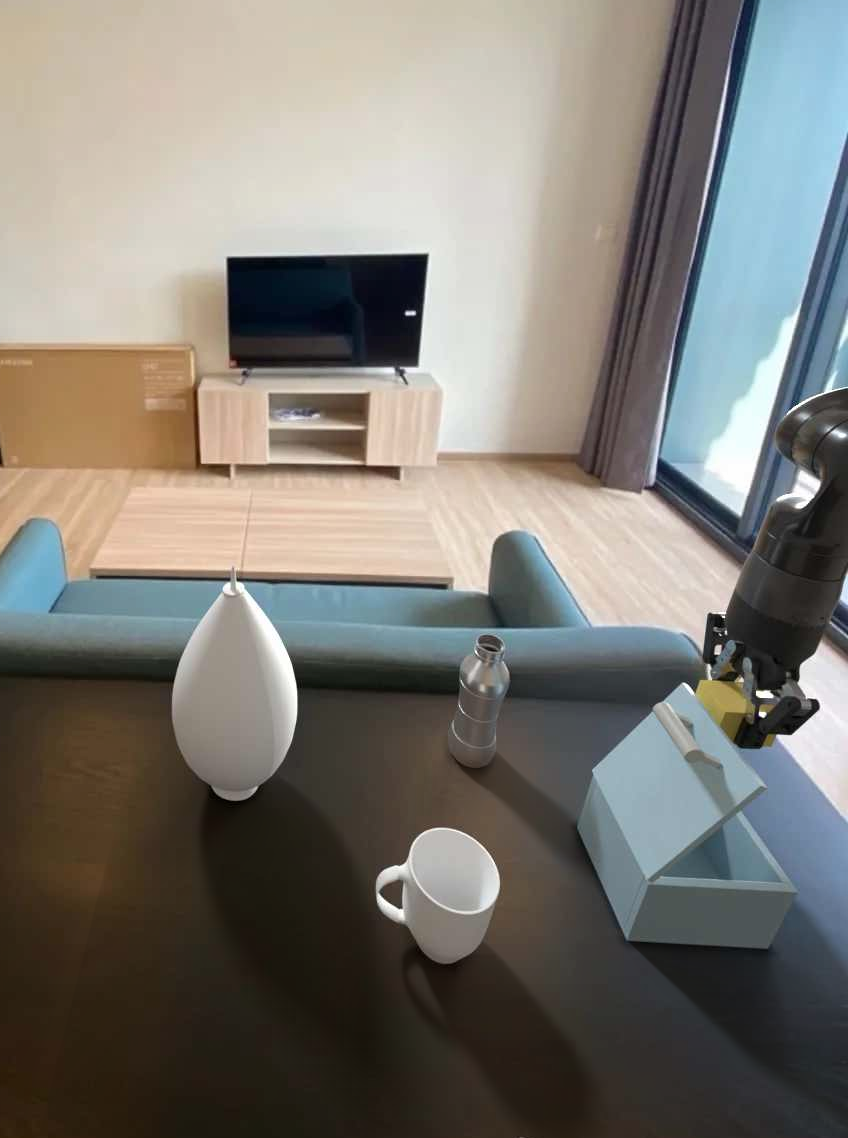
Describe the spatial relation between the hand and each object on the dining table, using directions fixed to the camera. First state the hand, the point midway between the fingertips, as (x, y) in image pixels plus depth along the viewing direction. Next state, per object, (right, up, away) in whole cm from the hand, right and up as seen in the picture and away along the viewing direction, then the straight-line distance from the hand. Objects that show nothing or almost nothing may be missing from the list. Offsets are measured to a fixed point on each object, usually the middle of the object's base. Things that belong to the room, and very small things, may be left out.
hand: (730, 725), depth 70 cm
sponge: (0, 0, 0) cm, 0 cm away
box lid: (-7, -5, -1) cm, 9 cm away
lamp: (-54, -16, +17) cm, 59 cm away
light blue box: (-4, -21, +5) cm, 22 cm away
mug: (-33, -23, 0) cm, 41 cm away
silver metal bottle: (-21, -14, +22) cm, 33 cm away
